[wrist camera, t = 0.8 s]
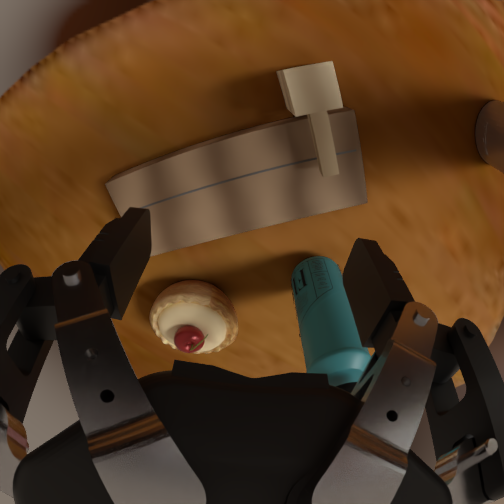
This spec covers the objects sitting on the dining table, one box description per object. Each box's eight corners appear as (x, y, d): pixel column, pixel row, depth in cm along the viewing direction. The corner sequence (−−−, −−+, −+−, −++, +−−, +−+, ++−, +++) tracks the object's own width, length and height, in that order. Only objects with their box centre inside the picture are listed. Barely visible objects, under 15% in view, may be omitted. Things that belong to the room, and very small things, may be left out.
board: (346, 107, 25) (354, 110, 23) (360, 193, 31) (367, 202, 29) (114, 175, 29) (104, 184, 27) (149, 246, 35) (143, 258, 33)
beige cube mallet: (316, 63, 23) (332, 61, 18) (336, 155, 29) (354, 174, 24) (276, 71, 24) (282, 69, 19) (300, 163, 29) (311, 183, 24)
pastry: (145, 304, 42) (127, 350, 34) (183, 256, 36) (164, 305, 29) (210, 340, 46) (202, 387, 38) (256, 302, 40) (254, 354, 33)
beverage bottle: (294, 244, 35) (324, 398, 18) (345, 250, 35) (399, 392, 19) (283, 285, 38) (300, 429, 22) (330, 289, 39) (365, 424, 22)
